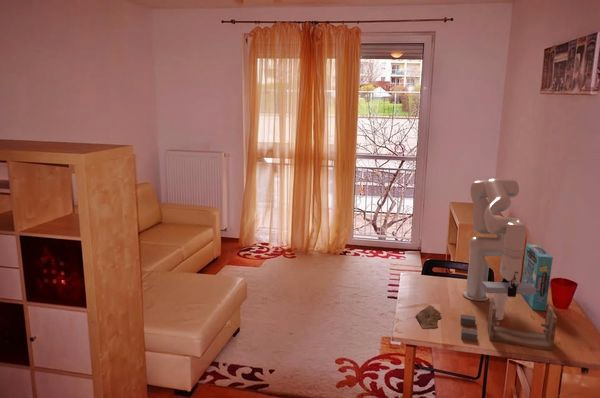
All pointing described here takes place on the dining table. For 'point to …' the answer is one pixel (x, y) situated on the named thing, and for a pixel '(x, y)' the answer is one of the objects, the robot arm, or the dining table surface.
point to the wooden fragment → (428, 317)
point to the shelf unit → (523, 331)
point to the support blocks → (468, 333)
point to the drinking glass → (499, 304)
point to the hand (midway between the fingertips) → (508, 292)
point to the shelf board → (503, 288)
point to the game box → (537, 275)
